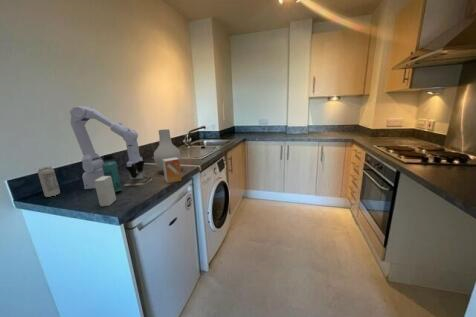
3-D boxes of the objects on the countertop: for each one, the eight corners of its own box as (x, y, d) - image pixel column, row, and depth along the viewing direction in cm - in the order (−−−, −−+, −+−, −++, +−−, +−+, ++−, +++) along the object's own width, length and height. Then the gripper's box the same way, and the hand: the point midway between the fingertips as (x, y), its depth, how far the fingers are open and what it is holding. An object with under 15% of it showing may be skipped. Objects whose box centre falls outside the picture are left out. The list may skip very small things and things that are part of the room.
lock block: (130, 182, 114) (129, 173, 113) (134, 180, 118) (132, 171, 116) (143, 181, 114) (141, 172, 113) (146, 179, 118) (144, 170, 117)
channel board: (124, 186, 112) (123, 181, 111) (132, 180, 120) (131, 176, 120) (146, 184, 112) (145, 180, 111) (152, 179, 121) (151, 175, 120)
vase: (187, 168, 140) (182, 128, 133) (172, 176, 125) (166, 131, 118) (166, 167, 145) (161, 128, 138) (150, 174, 130) (143, 131, 123)
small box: (167, 183, 112) (164, 161, 109) (164, 180, 117) (161, 159, 114) (182, 180, 116) (179, 158, 113) (178, 177, 121) (176, 156, 118)
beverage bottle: (109, 192, 104) (100, 154, 99) (123, 189, 107) (116, 152, 102) (106, 196, 98) (97, 157, 94) (121, 193, 101) (114, 155, 96)
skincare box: (107, 200, 94) (101, 176, 91) (116, 199, 94) (111, 175, 91) (99, 206, 88) (93, 180, 85) (109, 205, 88) (104, 180, 85)
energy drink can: (57, 192, 107) (50, 165, 103) (63, 194, 104) (55, 166, 101) (43, 197, 102) (34, 168, 98) (48, 199, 99) (39, 170, 96)
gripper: (134, 154, 105) (138, 179, 108) (146, 149, 119) (149, 171, 122) (120, 155, 105) (125, 179, 108) (134, 150, 119) (138, 171, 122)
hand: (137, 175), depth 115 cm, fingers open, 7 cm apart
